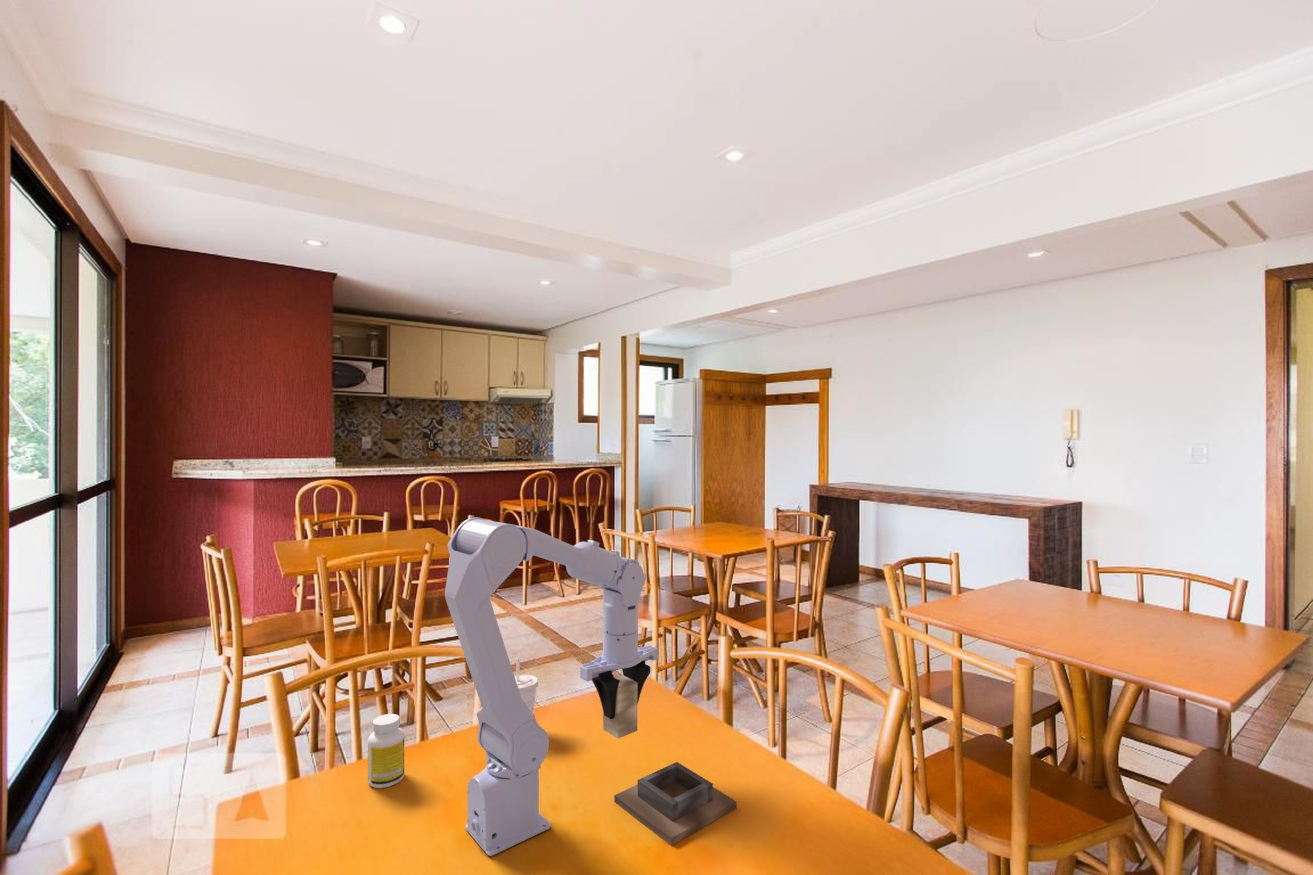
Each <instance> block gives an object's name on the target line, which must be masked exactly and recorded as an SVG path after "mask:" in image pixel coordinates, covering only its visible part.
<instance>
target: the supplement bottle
mask: <svg viewBox="0 0 1313 875" xmlns="http://www.w3.org/2000/svg"><path fill="white" fill-rule="evenodd" d="M400 718H401V717H400V715H398V714H395V713H387V714H382V715H378V716H377V717H375V718H374V719H373V720H372V731H373V732H371V734H370V735H369V736H368V738H367V783H368V785H369V786H371V787H372V788H376V789H383V788H385V789H386V788H388V787H392V786H395V785H397V784H398V783H400V782H401V781H402V780H403V779H404V778H405V777H404V776H405V732H404V730H403V729H402V728H400V725H401V720H400Z"/></svg>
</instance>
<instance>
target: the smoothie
mask: <svg viewBox="0 0 1313 875" xmlns="http://www.w3.org/2000/svg"><path fill="white" fill-rule="evenodd" d="M515 660H516V661H515V662H516V664H515V665H516V669H515V672H516V675H514V676H515V680H516V683H517V686H518V689H519V692H520V695H521V698H522V699H523V701H524V702H525V703H526V705H527V706H528V707H529V708H530V710H531V711H532V712H533V713H534V711H535V703H536V696H537V689H538V687H539V679H538V678H537V677H536V676H535V675H531V674H520V657H516V659H515Z"/></svg>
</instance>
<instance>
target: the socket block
mask: <svg viewBox="0 0 1313 875" xmlns="http://www.w3.org/2000/svg"><path fill="white" fill-rule="evenodd" d="M613 799H614V800H613V801H614V803H615V804H617V805H618V806H619V807H621V809H623V810H624V811H625V812H626V813H628V814H629V815H631V816H632V817H634V818H635V819H636V820H638V821H639V822H640V823H641V824H642V825H644V826H645V827H646V828H647V829H648V830H650V831H651V832H653V833H654V834H656V835H657V836H658V837H659V838H660V839H662V840H663V841H664V842H666V844H669V845H670V846H674V845H675V844H677V843H679V842H680V841H682V840H684V839H686V838H687V837H688V836H691V835H692V834H694V833H696V832H697V831H699V830H701V829H702V828H705V827H706V826H708V825H709V824H712V823H714V822H715V821H716V820H718V819H720V818H722V817H724V816H726V815H727V814H729V813H731V812H732V811H734V810H736V809H737V808H738V807H737V801H736V800H735V799H733V798H732V797H730V796H728V795H726V794H725V793H724V792H722V791H720V790H719V789H717V788H716V787H714V783H713V782H711V781H710V780H708V779H706V778H704V777H702V776H701V775H699V774H698V773H696V772H694V771H693V770H691V769H689V768H688V767H686V766H685V765H683V764H682V763H679V761H676V762H673V763H671V764H669V765H667V766H665V767H663V768H661V769H658V770H656V771H655V772H654V771H653V772H652V773H650V774H647V775H645V776H643V777H642V778H639V779H637V784H636V785H633V786H631V787H629V788H627V789H625V790H622V791H620V792H618V793H616V794H614V797H613Z"/></svg>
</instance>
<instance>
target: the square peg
mask: <svg viewBox="0 0 1313 875" xmlns="http://www.w3.org/2000/svg"><path fill="white" fill-rule="evenodd" d="M614 678H616V679H618V680H620V682H619V685H618V689H617V694H616V711H615V717H614V718H613V719H609V718H608V717H606V716H604V713H602V715H603V716H602V717H603V719H602V720H603V724H602V725H603V726H602V728H603V731H605V732H607V733H608V734H610V735H611V736H613V737H614V738H616V739H620V738H623V737H626V736H629V735H631V734H633V733H636V732H638V705H637V682H636V681H634V680H632V679H630V678H628V677H626V676H623V674H622V675H619V676H616V677H614Z"/></svg>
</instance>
